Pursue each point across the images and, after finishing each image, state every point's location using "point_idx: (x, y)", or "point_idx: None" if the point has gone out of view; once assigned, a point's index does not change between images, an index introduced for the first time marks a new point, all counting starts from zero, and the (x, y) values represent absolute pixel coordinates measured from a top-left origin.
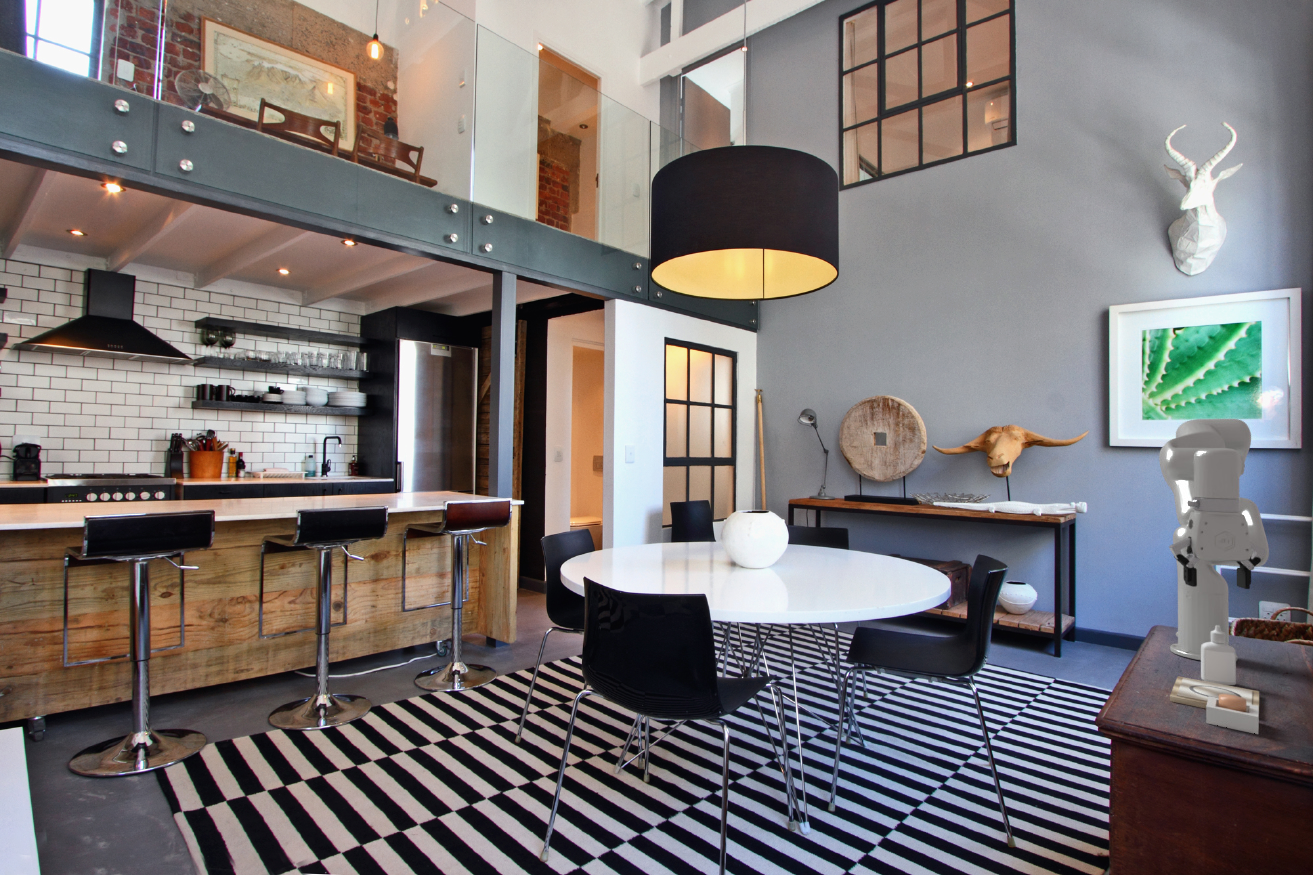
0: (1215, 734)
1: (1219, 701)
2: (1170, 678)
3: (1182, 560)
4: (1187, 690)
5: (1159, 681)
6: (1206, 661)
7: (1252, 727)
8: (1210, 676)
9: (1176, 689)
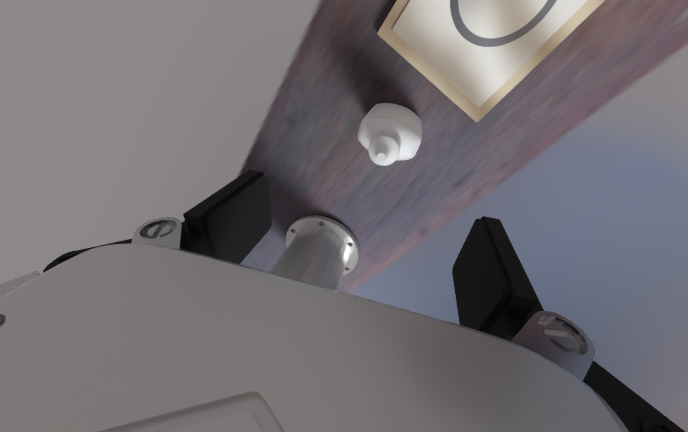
0: None
1: None
2: (475, 136)
3: (631, 402)
4: None
5: (521, 113)
6: (419, 127)
7: None
8: (415, 115)
9: (590, 2)
